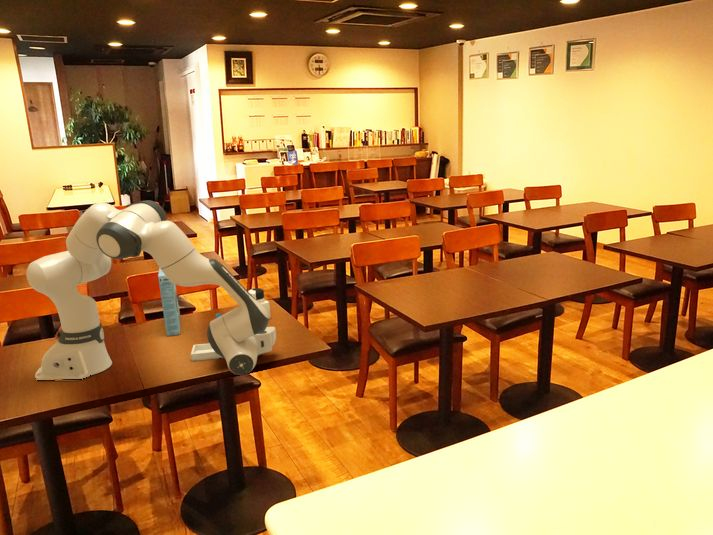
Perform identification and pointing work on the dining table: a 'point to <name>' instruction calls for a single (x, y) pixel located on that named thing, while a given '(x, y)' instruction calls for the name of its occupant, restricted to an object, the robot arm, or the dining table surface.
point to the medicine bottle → (260, 298)
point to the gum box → (169, 304)
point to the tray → (203, 352)
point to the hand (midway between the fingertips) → (245, 328)
